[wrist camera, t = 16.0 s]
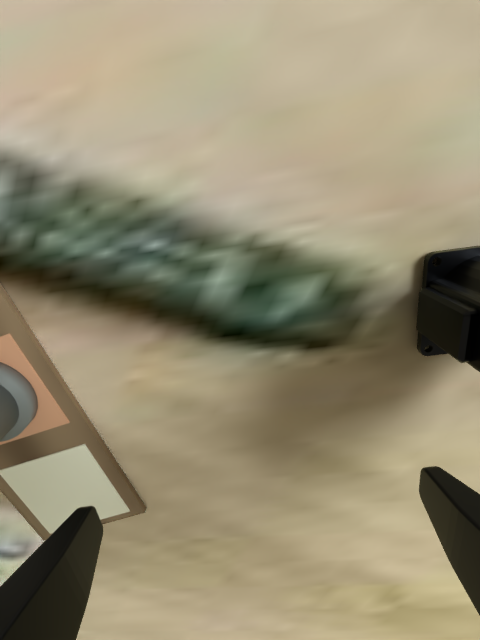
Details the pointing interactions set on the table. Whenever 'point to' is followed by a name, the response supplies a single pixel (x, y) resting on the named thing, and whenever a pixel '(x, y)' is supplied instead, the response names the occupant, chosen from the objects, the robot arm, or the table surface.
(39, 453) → the game board
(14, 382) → the pawn
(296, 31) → the table surface
